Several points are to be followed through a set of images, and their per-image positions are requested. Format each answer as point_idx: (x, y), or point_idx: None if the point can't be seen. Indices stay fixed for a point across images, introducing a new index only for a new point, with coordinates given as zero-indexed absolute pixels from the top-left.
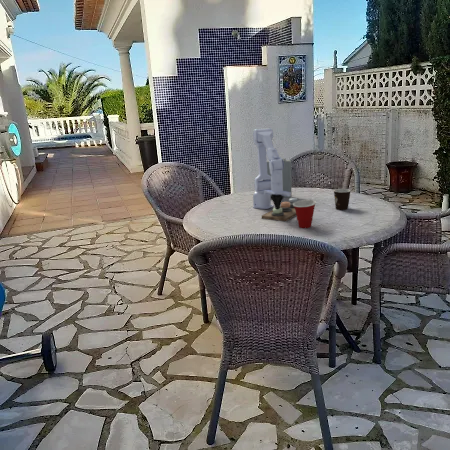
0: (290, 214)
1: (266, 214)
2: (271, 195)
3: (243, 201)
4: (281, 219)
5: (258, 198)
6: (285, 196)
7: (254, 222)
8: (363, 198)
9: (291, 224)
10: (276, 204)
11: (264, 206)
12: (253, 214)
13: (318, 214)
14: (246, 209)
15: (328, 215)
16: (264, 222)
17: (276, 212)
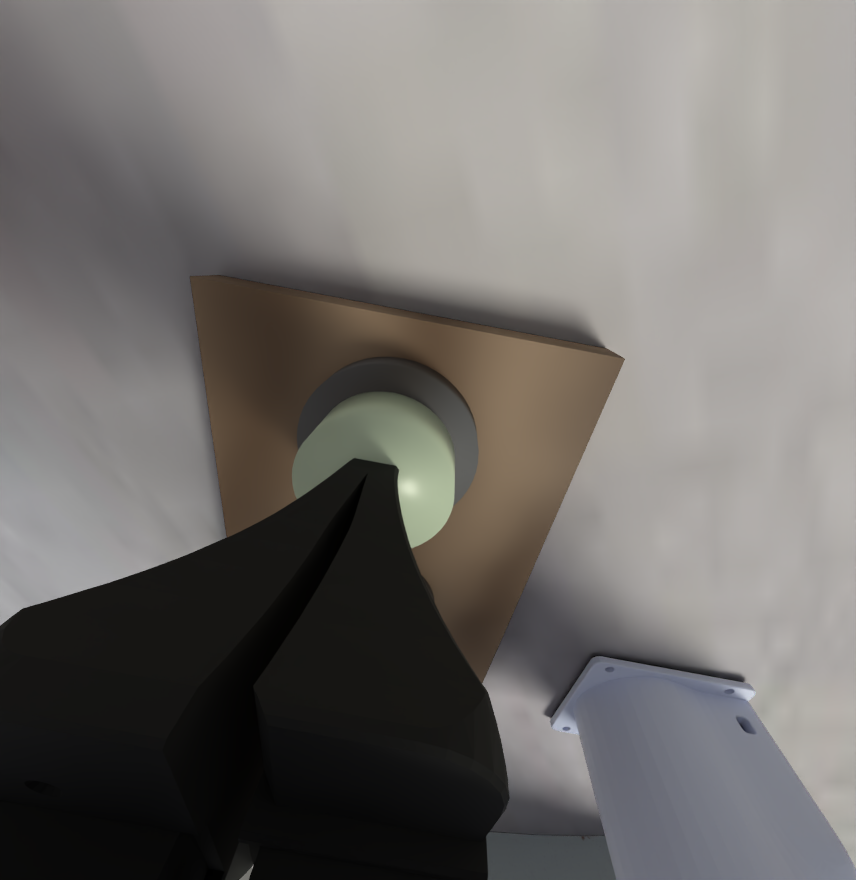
0: (246, 478)
1: (554, 429)
2: (610, 860)
3: (834, 797)
4: (279, 288)
5: (758, 813)
6: (512, 844)
7: (718, 41)
8: None
9: (53, 119)
10: (337, 506)
11: (632, 692)
12: (741, 499)
13: (94, 574)
14: (826, 643)
15: (6, 560)
16: (516, 109)
17: (369, 397)
